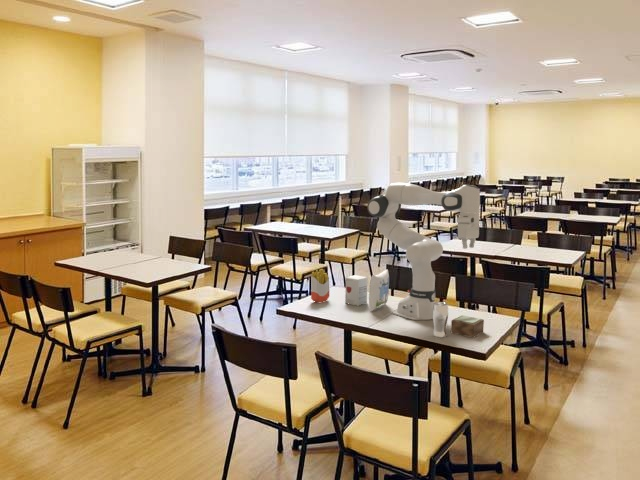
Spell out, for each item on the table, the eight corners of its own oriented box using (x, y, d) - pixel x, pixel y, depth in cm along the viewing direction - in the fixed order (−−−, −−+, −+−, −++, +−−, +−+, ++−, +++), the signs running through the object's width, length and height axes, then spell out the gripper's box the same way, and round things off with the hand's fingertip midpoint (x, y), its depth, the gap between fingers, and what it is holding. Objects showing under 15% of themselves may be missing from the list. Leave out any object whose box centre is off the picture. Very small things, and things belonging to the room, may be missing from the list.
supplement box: (344, 303, 320) (345, 277, 318) (354, 300, 327) (354, 274, 324) (357, 306, 314) (358, 279, 312) (367, 303, 321) (367, 276, 319)
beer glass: (432, 332, 268) (433, 301, 266) (447, 334, 266) (449, 302, 264) (431, 337, 261) (432, 305, 259) (446, 338, 259) (448, 306, 257)
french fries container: (329, 300, 326) (330, 269, 323) (317, 304, 318) (317, 272, 315) (323, 299, 329) (324, 268, 326) (310, 302, 321) (311, 271, 318)
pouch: (363, 310, 305) (364, 273, 302) (380, 303, 321) (381, 268, 318) (376, 313, 301) (377, 275, 298) (393, 305, 317) (394, 269, 314)
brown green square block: (450, 332, 268) (451, 319, 267) (461, 327, 277) (461, 314, 276) (473, 337, 261) (473, 323, 260) (483, 332, 270) (483, 318, 269)
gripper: (470, 218, 284) (469, 246, 284) (455, 218, 266) (454, 248, 267) (482, 219, 280) (481, 247, 281) (469, 219, 263) (467, 249, 264)
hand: (468, 248), depth 274 cm, fingers open, 8 cm apart
